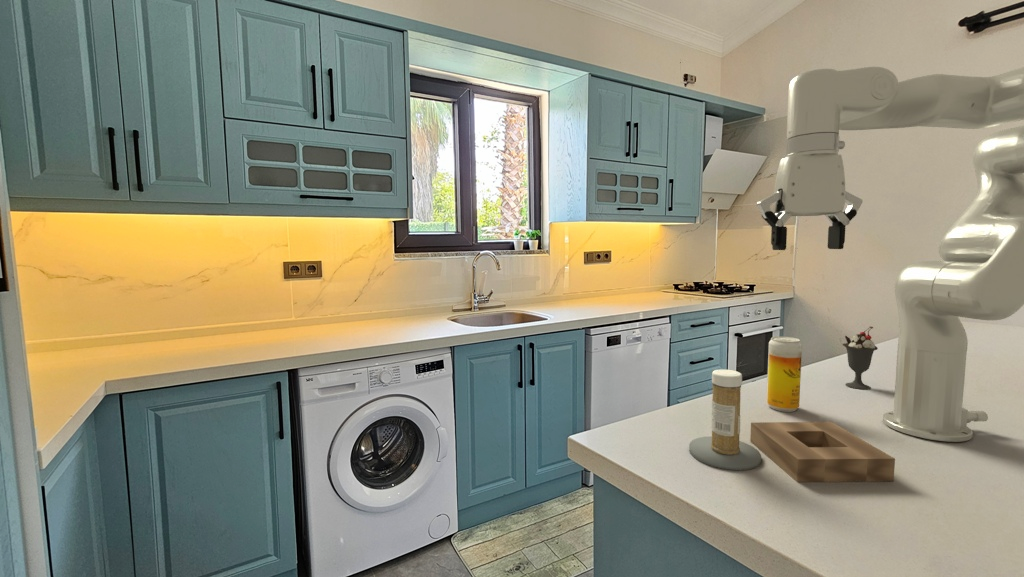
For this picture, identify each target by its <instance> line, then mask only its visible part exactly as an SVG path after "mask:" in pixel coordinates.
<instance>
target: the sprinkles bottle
mask: <svg viewBox="0 0 1024 577" xmlns="http://www.w3.org/2000/svg"><path fill="white" fill-rule="evenodd" d="M711 383H712V384H711V385H712V399H711V436H712V443H711V448H712V449H713V450H714V451H716V452H718V453H721V454H726V455H733V454H737V453H739V451H740V447H739V441H740V433H741V389H742V385H743V374H742V373H741V372H739V371H737V370H731V369H714V370H713V371H712V373H711Z"/></svg>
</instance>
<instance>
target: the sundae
mask: <svg viewBox="0 0 1024 577" xmlns="http://www.w3.org/2000/svg"><path fill="white" fill-rule="evenodd" d="M871 329H874V326H869V327H868V328H867V329H866V330H864V331H860V332H859V334H858V333H857V334H854V335H853V336H852V337H851V338H850V337H848V335H845V336H844V338H845V340H846V343H842V346H843V347H845V348H846V354H847V362H848V367H849V368H850V369H851V370H852V371H853V372H854V374H855V375H854V380H853V381H852V382H846V383H845V386H846V387H847V388H851V389H857V390H870V389H871V385H870V386H869V385H867V384H865V383H863V381H862V374H863V373H865V372H866V371H868V370H869V369H870V366H871V363H872V358H873V354H874V352H875V351H876V350H877V351H878V347H877V346H876V345H875V343H874V341H873V340H872V336H871V335H870V334H869V332H870V331H871ZM866 331H867V334H866Z"/></svg>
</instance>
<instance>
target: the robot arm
mask: <svg viewBox="0 0 1024 577" xmlns="http://www.w3.org/2000/svg"><path fill="white" fill-rule="evenodd" d="M787 96H788V97H787V116H786V117H787V121H786V122H787V123H786V142H785V143H786V144H785V145H786V147H785V157H784V158H781V159H780V161H779V164H778V167H777V172H776V177H775V182H774V188H773V189H774V190H773V193H771V194H770V195H768V196H766V197H765V198H763V199H760V200H759V201H757V202H756V206H757V208H758V210H759V213H760V214H761V218H762V219H763V220H764V221H765V222H766V223H767V225H768V227H769V228H771V236H770V243H771V244H770V245H771V246H772V250H773V251H785V250H786V249H787V238H788V237H787V235H788V228H787V226H785V224H786V222H787V221H788V220H789V219H790V218H791V217H813V216H815V217H816V216H817V217H818V216H825V217H826V219H827V220H828V221H829V222H830V223H831V224H832V225H829V226H828V231H827V248H828V250H843V249H844V244H845V241H846V226H849V225H850V224H851V223H850V222H851V221H852V220H853V219H854V218H855V217H856V216H857V214H858V211H859V209H860V208H861V206H862V204H863V199H862V198H860V197H858V196H856V195H854V194H853V193H851V192H849V191H846V175H845V168H844V166H845V165H844V162H843V157H842V156H843V155H842V154H839V151H840V150H843V149H845V147H846V142H845V141H844V140H840V131H869V130H870V131H871V130H882V129H883V130H884V129H885V130H886V129H889V130H890V129H904V128H917V127H922V128H923V127H925V128H927V127H928V128H929V127H930V128H945V129H946V128H947V129H965V130H979V129H985V128H986V129H987V128H991V127H996V126H1001V125H1002V126H1003V125H1006V124H1011V123H1014V122H1019V121H1024V67H1020V68H1017V69H1014V70H1010V71H1006V72H1003V73H1000V74H997V75H994V76H985V77H984V76H966V75H954V74H943V73H936V74H935V73H934V74H928V75H922V76H916V77H912V78H910V79H906V80H902V81H899V79H898V78H897V76H896V74H895V73H894V72H893V71H891V70H890V69H888V68H886V67H881V66H866V67H859V68H854V69H853V68H852V69H844V70H837V69H832V68H818V69H812V70H808V71H804V72H802V73H799V74H797V75H796V76H795V77H793V78H792V79H791V80H790V82H789V85H788V93H787ZM972 162H973V163H972V164H973V168H974V173H975V176H976V181H977V182H976V183H977V194H976V196H975V197H974V199H973V200H972V201H971V203H970V204H969V205H968V206H967V208H966V209H965V210H964V211H963V212H962V213H961V214H960V216H959V217H958V218H957V219H956V220H955V222H954V223H953V224H952V225H951V226H950V228H948V230H947V231H946V232H945V233H944V235H943V236H942V239H941V240H940V241H939V246H938V254H939V256H940V257H941V259H942V260H924V261H918V262H914V263H912V264H909V265H907V266H906V267H904V268H903V269H902V270H900V272H899V273H898V274H897V276H896V279H895V282H894V295H895V300H896V305H897V312H898V342H897V351H896V352H897V355H896V365H895V366H896V368H895V381H894V382H895V384H894V396H893V397H894V399H893V411H887V412H885V413H884V414H882V422H883V423H884V424H885V425H886V426H887V427H889V428H891V429H893V430H895V431H898V432H900V433H904V434H905V435H910V436H912V437H917V438H920V439H926V440H931V441H937V442H946V443H947V442H949V443H951V442H952V443H962V442H966V441H970V440H971V439H972V438H973V431H972V429H971V428H970V427H969V426H968V425H967V424H970V423H971V422H987V421H988V419H989V416H988V414H987V412H985V411H983V410H970V411H969V410H968V409H966V408H965V407H963V401H964V392H965V391H964V390H965V380H966V379H965V378H966V367H967V366H966V365H967V355H968V344H969V343H968V342H969V341H968V335H967V333H966V329H965V327H964V325H963V323H962V322H961V320H960V318H965V319H966V318H967V319H973V320H980V321H1000V320H1004V319H1007V318H1009V317H1012V315H1014V314H1016V312H1018V311H1019V310H1021V308H1022V307H1023V306H1024V125H1019V126H1014V127H1010V128H1007V129H1003V130H1000V131H997V132H993V133H992V134H990V135H988V136H986V137H984V138H983V139H981V141H980V142H979V143H977V145H976V147H975V149H974V151H973V156H972ZM845 204H847V207H846V209H845V210H844V208H845ZM771 205H772V209H771ZM959 317H960V318H959Z"/></svg>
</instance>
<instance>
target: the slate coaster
mask: <svg viewBox="0 0 1024 577" xmlns="http://www.w3.org/2000/svg"><path fill="white" fill-rule="evenodd" d="M711 443H712V435H711V436H700V437H697V438H694V439H693V440H691V441H690V442H689V444H688V445H689V446H688V448H689V449H688V450H689V451H688V452H689V453H690V455H691V456H692V457H693V458H694V459H696V460H697V461H698V462H701V463H702V464H705V465H707V466H711V467H714V468H717V469H721V470H728V471H747V470H753V469H755V468H757V467H759V466H760V465H761V463H762V454H761V452H760V450H758V448H757V449H756V448H755V447H754V446H752V444H751V445H750V444H749V443H747V442H744V441H741V440H739V447H740V451H739V453H737V454H733V455H726V454H721V453H718V452H716V451H714V450H713V449H712V448H711Z"/></svg>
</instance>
